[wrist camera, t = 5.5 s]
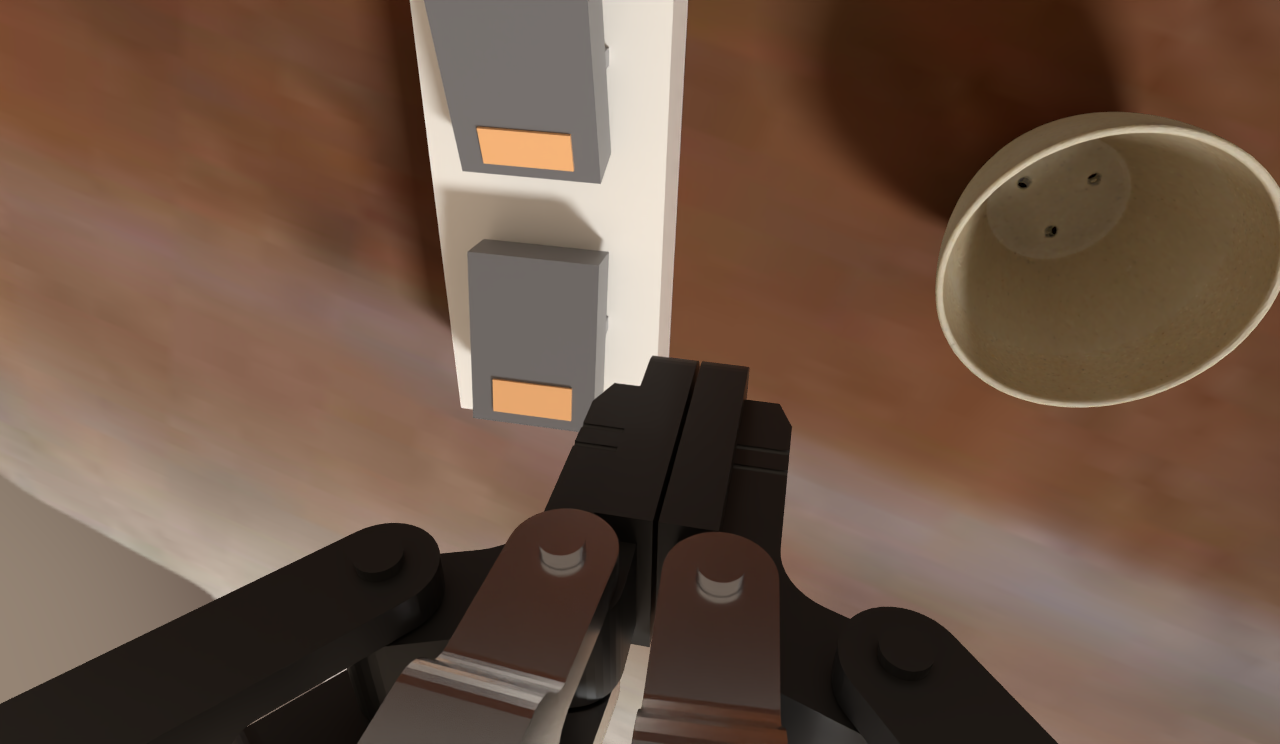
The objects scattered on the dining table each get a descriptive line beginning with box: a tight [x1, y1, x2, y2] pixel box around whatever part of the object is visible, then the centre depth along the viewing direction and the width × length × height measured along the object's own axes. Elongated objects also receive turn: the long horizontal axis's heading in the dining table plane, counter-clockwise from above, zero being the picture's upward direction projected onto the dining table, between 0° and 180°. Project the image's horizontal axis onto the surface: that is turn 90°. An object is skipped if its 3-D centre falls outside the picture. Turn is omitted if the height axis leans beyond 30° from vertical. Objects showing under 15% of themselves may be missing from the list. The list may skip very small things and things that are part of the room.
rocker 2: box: [467, 239, 609, 432], centre depth 32 cm, size 5×7×2 cm
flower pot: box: [936, 112, 1280, 407], centre depth 29 cm, size 10×10×7 cm
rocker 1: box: [424, 0, 611, 184], centre depth 27 cm, size 5×7×2 cm
